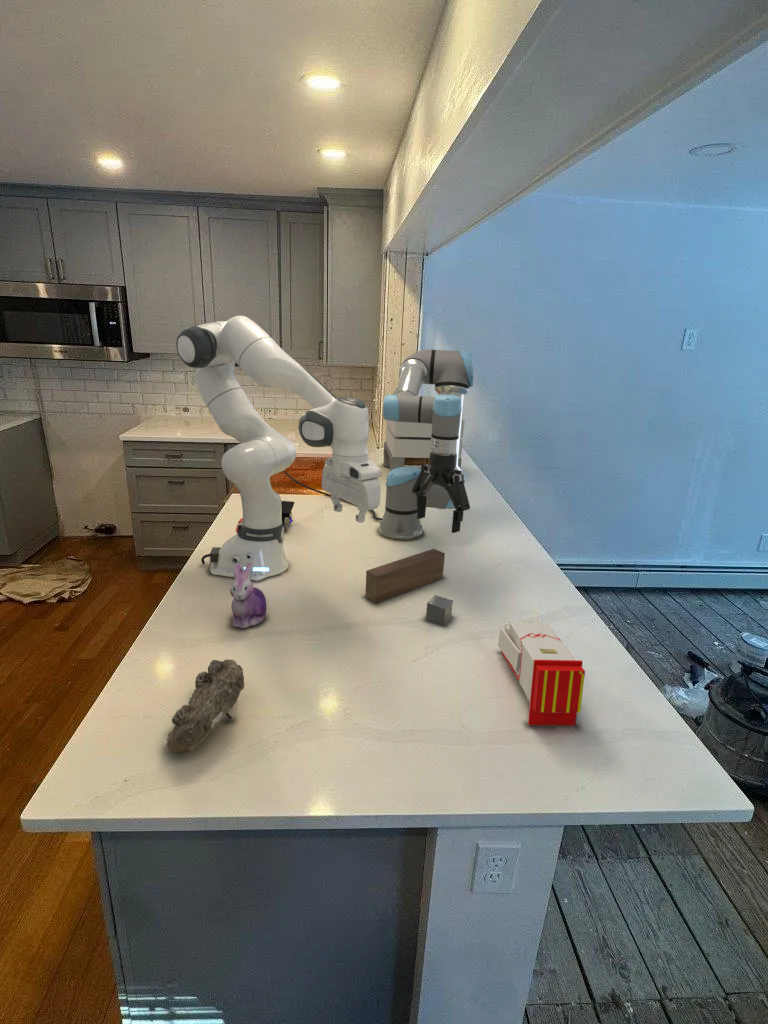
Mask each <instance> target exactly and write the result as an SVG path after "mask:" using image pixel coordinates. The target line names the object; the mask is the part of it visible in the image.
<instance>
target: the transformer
mask: <svg viewBox="0 0 768 1024" xmlns="http://www.w3.org/2000/svg"><path fill="white" fill-rule="evenodd" d="M395 391H396V389H395V390H394V392H393V394H395ZM385 423H386V428H385V438H384V442H383V466H384V467H388V468H389V472H390V471H391V470H393V469H396V468H400V467H405V466H406V467H417V466H418V467H422V465H426V464H429V459H430V453H431V452H432V451H431V450H430V448H431V434H432V424H428V423H413V422H395V421H388V420H385ZM464 429H465V419H464V418H462V421H461V433H460V444H459V456H458V467H459V468H460V469H461V470H462V461H463V460H462V453H463V442H464V441H463V440H462V439H463V438H464V431H465V430H464Z"/></svg>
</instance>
